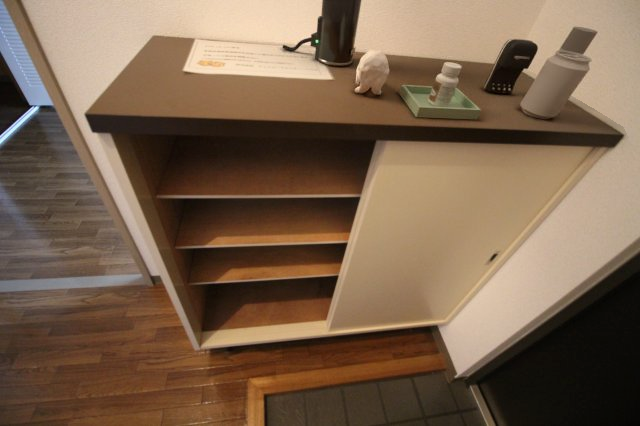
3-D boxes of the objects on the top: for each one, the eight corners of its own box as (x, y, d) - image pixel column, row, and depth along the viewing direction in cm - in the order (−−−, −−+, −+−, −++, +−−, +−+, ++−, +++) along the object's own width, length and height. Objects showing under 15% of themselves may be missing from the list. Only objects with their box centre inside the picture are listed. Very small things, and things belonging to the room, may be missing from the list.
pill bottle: (426, 97, 62) (440, 59, 57) (446, 101, 62) (462, 63, 57) (428, 106, 59) (443, 66, 54) (449, 109, 59) (466, 70, 54)
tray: (416, 117, 56) (419, 107, 55) (399, 94, 64) (401, 84, 63) (476, 119, 58) (481, 109, 57) (452, 96, 66) (456, 87, 64)
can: (515, 102, 67) (549, 46, 59) (549, 110, 66) (589, 53, 57) (520, 115, 62) (558, 55, 53) (558, 123, 60) (602, 63, 52)
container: (553, 105, 68) (603, 33, 58) (533, 101, 69) (579, 30, 58) (546, 97, 72) (591, 28, 61) (527, 94, 72) (569, 25, 61)
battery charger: (488, 94, 69) (514, 41, 61) (481, 88, 72) (506, 36, 64) (514, 96, 70) (544, 44, 62) (506, 90, 73) (534, 39, 65)
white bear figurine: (362, 51, 54) (355, 41, 64) (355, 97, 60) (349, 81, 69) (395, 54, 55) (383, 44, 64) (384, 99, 60) (374, 83, 70)
